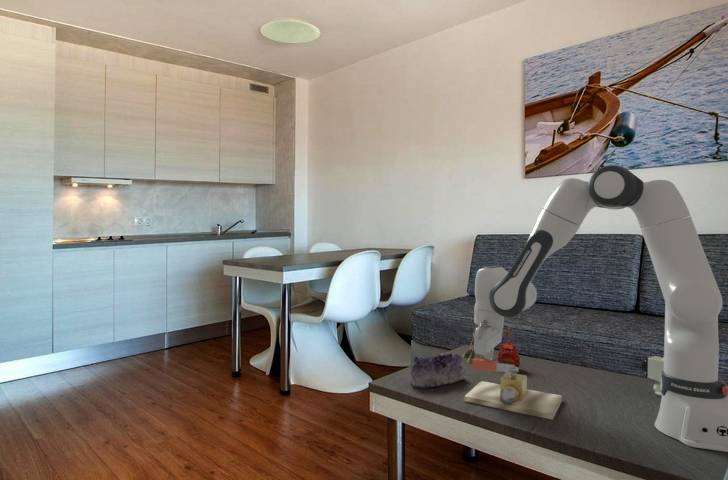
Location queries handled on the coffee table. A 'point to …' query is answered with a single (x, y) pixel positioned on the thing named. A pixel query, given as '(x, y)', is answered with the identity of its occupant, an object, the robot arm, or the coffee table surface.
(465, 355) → the eiffel tower
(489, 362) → the valve lever
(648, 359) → the pneumatic valve
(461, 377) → the geode
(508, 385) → the valve body
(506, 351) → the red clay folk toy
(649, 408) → the coffee table surface
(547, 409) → the base board
